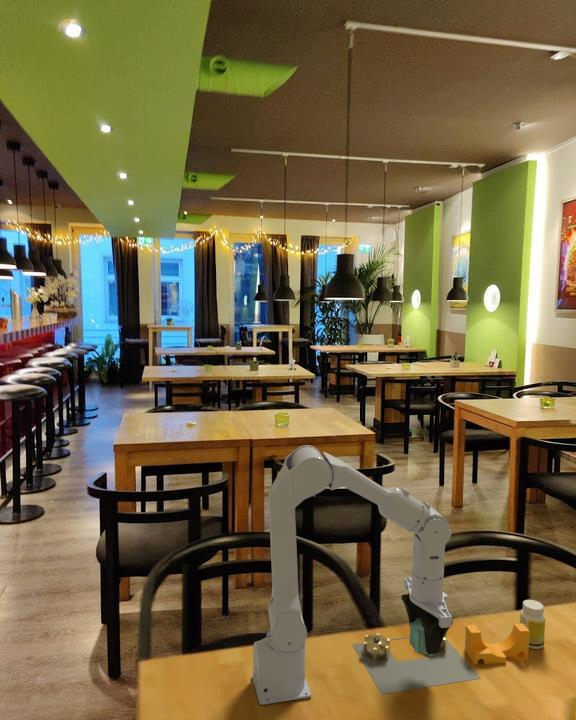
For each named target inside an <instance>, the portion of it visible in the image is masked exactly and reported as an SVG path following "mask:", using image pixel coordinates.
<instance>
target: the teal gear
mask: <svg viewBox="0 0 576 720" xmlns="http://www.w3.org/2000/svg"><path fill="white" fill-rule="evenodd" d="M409 636H410V638H409V646H412V649H413V650H414V652H415V653H416V654H422V655H426V654H428V653H427V652H426V647H425V634H424V629H423V625H422V623H421V620H420V618H417V620H416V621H414V622H413V623H411V624H409ZM429 655H430V656H431V655H433V654H429Z"/></svg>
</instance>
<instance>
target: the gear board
mask: <svg viewBox="0 0 576 720" xmlns="http://www.w3.org/2000/svg"><path fill="white" fill-rule="evenodd" d="M447 632H448V631H447ZM447 632H446V634H445V636H444V638H443V640H442V643H441V646H440V649H439V652H438V653H436V654H433V655H431V656H430V655H429V654H425V655H426V656H427V657H420V658H415V659H406V660H399V661H397V660H396V658H395V657H394V655H393V654H392V653H391V651H390V649H391V641H396V640H403V639H410V635H408V636H402V637H395V638H394V637H393V638H386V636H384V635H382V634H380V633H379V632H377V633H375V634H373V633H372V634H369V635H368V634H365V635H364V641H362V642H358V643H352V644H351V645H352V646H353V648H354V651H355V652H356V654H357V655H358V657H359V658H360V660H361V662H362V664H363V666H364V667H365V669H366V671H367V672H368V674H369V675H370V677H371V679H372V681H373V682H374V684H375V686H376V687H377V688H378V690H379V692H380V693H381V695H388V694H392V693H393V694H394V693H400V692H406V691H412V690H418V689H424V688H426V689H427V688H431V687H437V686H444V685H449V684H455V683H462V682H468V681H474V680H480V679H482V677H481V676H480V675H479V674H478V673H477V672H476V671H475V669H474V668H473V667H472V666H471V665H470V664H469V663H468V662H467V660H466V659H465V658H463V656H462V655H461V654H460V653H459V652H458V651H457V649H456V648H455V646H453V645H452V644H451V643H450V642H449V640H447V638H448V636H447V634H448V633H447Z"/></svg>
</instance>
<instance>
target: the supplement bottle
mask: <svg viewBox="0 0 576 720" xmlns="http://www.w3.org/2000/svg"><path fill="white" fill-rule="evenodd" d="M544 608H545V607H544V605H543V604H542V602H540V601H537V600H534V599H525V600H523V601H522V609H521V611H520V615H519V616H520V617H519V624H524V625H525V626H526V627H527V629H528V630H529V631H530V635H529V649H535V650H539V649H542V648H543V647H544V645H545V632H546V631H545V630H546V629H545V628H546V627H545V626H546V616H545V615H544V612H545V611H544V610H545V609H544Z"/></svg>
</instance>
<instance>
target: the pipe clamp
mask: <svg viewBox="0 0 576 720" xmlns="http://www.w3.org/2000/svg"><path fill="white" fill-rule="evenodd" d="M529 635H530V631H529V630H528V629H527V627H526V626H525V625H524V624H520V623H513V628H512V631H511V632H510V634H509V635H508V636H507V638H505V639H504V640H502V641H500V642H496V643H489V642H487V641H485V640H483V639H482V632H481V631H480V630H479V628H478V627H477V625H476V624H467V625H465V637H464V638H465V639H464V651H465V653H466V655H467V656H468V657H469V659H470V660H471V662H472V663H473V665H479V661H480V660H481V661H482V662H483V663H484V665H485V664H488V665H489V664H506V663H507V658H513V659H514V660H515V661H516V662H528V661H529V652H530V651H529V649H530V648H529Z"/></svg>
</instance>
